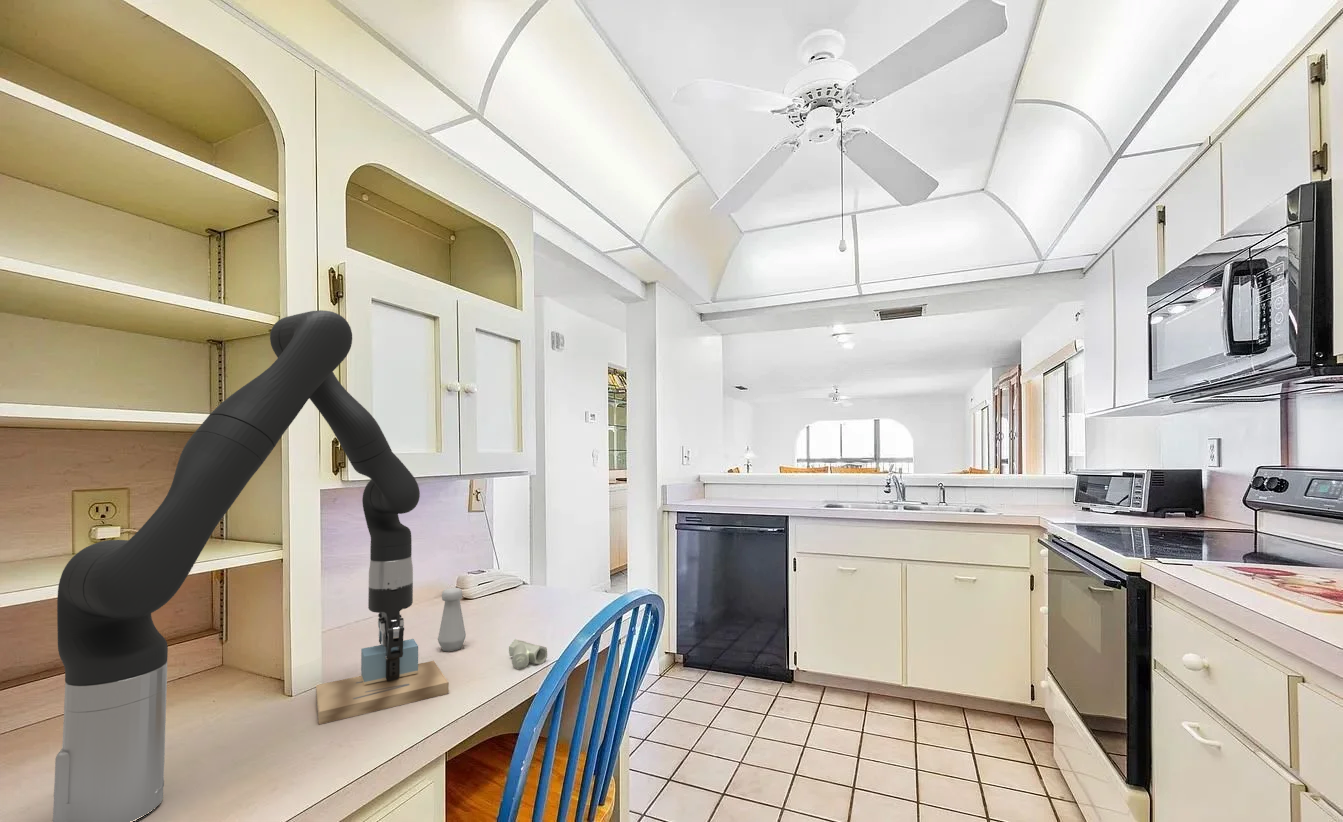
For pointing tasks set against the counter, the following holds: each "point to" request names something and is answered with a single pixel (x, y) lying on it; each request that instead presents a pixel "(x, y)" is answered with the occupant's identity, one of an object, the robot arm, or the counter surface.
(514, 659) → the pipe fitting
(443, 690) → the oak board
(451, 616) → the salt shaker
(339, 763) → the counter surface
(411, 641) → the block
